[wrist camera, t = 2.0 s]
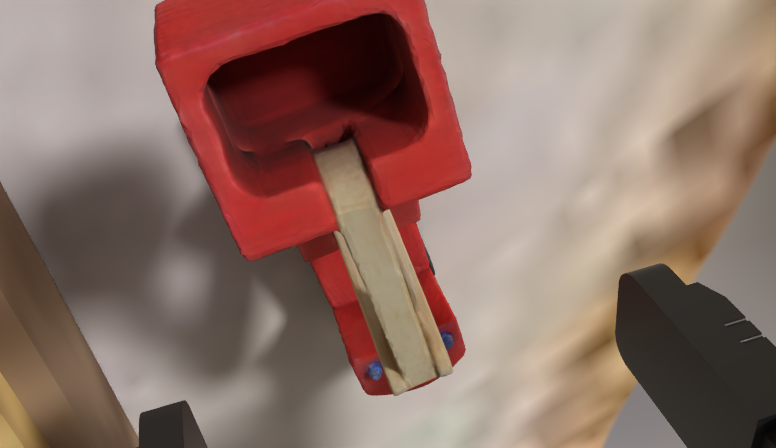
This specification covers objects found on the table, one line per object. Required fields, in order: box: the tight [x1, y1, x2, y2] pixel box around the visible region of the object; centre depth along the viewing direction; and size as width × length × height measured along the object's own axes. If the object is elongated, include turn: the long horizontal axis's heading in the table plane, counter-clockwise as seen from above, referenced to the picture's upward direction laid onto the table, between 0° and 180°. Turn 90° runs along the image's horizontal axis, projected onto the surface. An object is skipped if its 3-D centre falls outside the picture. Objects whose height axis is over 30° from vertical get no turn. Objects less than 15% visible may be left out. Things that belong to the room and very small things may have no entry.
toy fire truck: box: [154, 0, 472, 396], centre depth 16 cm, size 3×14×10 cm, turn 16°
